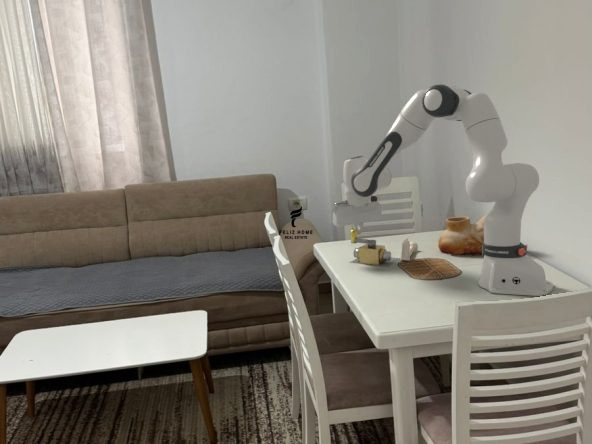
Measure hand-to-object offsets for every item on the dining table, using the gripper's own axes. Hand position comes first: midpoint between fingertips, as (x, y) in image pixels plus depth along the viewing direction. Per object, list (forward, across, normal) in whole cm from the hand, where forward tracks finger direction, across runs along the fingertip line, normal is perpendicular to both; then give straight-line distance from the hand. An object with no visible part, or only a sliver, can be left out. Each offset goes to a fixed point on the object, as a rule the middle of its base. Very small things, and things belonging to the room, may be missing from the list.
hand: (358, 234), depth 238 cm
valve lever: (+3, -1, -4) cm, 6 cm away
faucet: (+11, +18, -8) cm, 22 cm away
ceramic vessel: (+11, +41, -18) cm, 46 cm away
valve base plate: (+10, +3, -7) cm, 12 cm away
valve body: (+10, +1, -8) cm, 13 cm away
